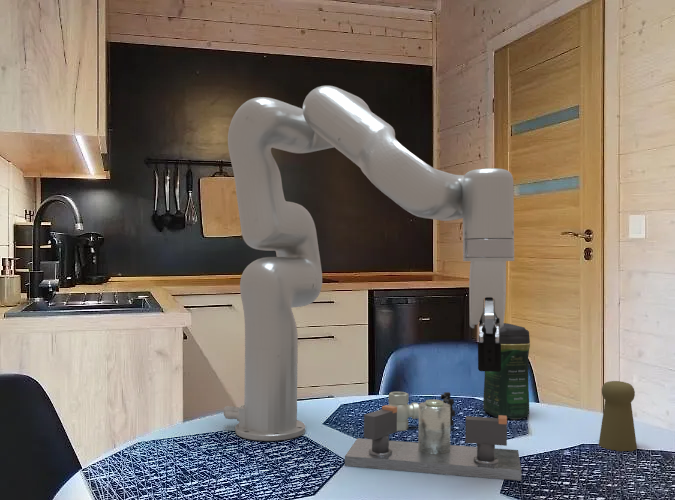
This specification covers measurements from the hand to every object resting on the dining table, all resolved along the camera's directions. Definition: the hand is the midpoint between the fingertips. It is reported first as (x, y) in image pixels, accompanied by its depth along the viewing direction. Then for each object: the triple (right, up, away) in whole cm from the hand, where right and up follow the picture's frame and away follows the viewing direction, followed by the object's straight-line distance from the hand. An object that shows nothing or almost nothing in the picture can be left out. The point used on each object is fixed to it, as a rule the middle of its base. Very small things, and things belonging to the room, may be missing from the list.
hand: (489, 365), depth 98 cm
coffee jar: (+12, -16, +35) cm, 41 cm away
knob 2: (-1, -14, 0) cm, 14 cm away
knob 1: (-16, -14, +4) cm, 22 cm away
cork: (+25, -16, +14) cm, 33 cm away
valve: (-8, -16, +25) cm, 30 cm away
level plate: (-8, -16, +4) cm, 18 cm away
